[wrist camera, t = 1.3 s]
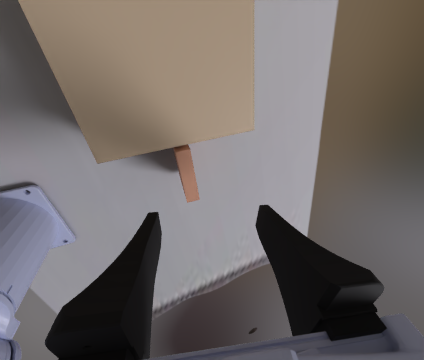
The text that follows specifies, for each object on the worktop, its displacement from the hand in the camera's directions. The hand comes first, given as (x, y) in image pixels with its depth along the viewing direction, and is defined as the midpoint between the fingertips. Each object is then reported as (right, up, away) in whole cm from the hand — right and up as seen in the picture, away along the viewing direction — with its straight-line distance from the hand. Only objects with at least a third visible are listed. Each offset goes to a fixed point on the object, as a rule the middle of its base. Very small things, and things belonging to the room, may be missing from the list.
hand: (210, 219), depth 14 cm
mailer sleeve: (-5, +14, +2) cm, 15 cm away
